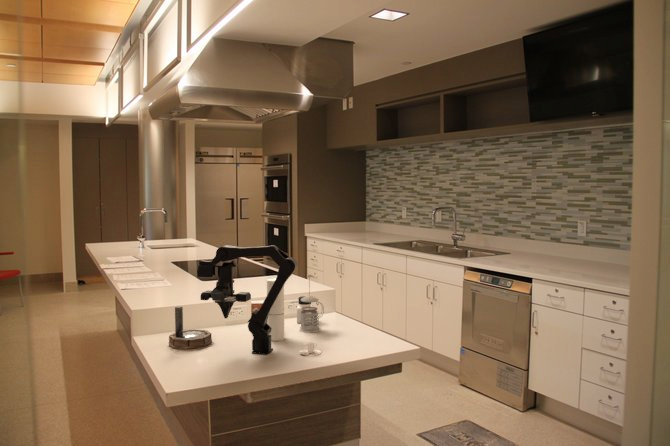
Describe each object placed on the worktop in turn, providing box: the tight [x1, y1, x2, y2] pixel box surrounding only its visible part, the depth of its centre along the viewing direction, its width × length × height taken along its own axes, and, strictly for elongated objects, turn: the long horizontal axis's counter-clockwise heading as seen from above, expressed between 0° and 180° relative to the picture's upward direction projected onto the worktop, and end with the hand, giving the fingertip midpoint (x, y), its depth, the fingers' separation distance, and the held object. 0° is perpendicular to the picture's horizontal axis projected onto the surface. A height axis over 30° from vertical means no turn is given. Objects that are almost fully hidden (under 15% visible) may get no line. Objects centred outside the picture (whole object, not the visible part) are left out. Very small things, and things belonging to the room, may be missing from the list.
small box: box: [250, 299, 265, 316], centre depth 239 cm, size 8×6×13 cm
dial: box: [174, 306, 206, 339], centre depth 219 cm, size 13×13×14 cm
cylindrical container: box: [266, 277, 285, 342], centre depth 225 cm, size 7×7×25 cm
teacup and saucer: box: [298, 341, 322, 357], centre depth 206 cm, size 9×8×4 cm
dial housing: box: [168, 328, 213, 350], centre depth 219 cm, size 17×17×4 cm
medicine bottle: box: [296, 295, 314, 324], centre depth 255 cm, size 7×7×12 cm
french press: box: [298, 274, 325, 334], centre depth 240 cm, size 10×12×25 cm
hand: (226, 318), depth 208 cm, fingers closed
